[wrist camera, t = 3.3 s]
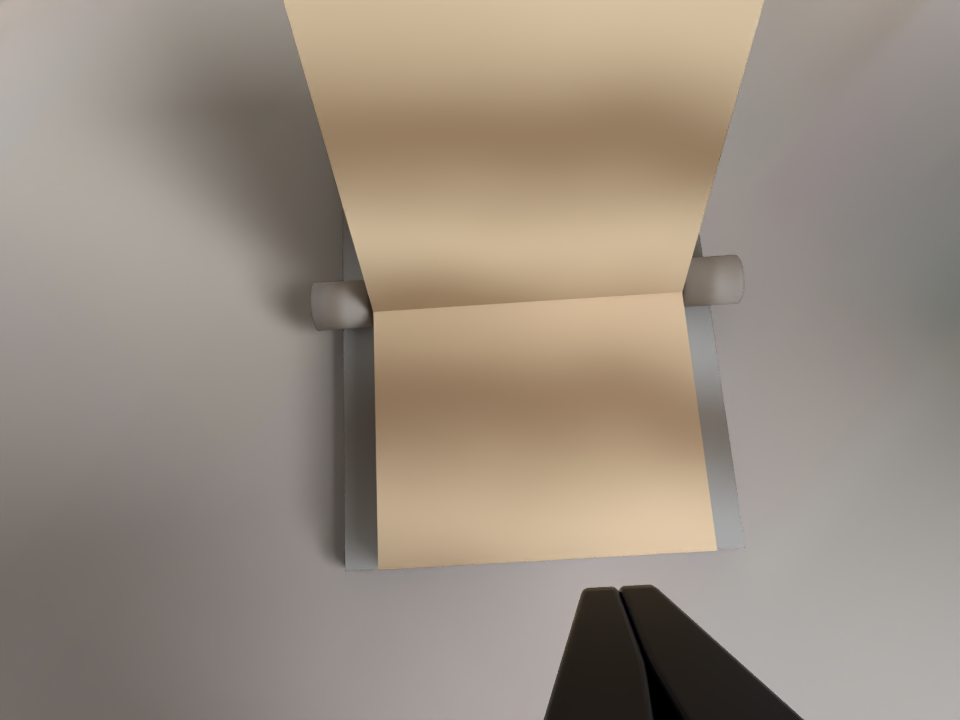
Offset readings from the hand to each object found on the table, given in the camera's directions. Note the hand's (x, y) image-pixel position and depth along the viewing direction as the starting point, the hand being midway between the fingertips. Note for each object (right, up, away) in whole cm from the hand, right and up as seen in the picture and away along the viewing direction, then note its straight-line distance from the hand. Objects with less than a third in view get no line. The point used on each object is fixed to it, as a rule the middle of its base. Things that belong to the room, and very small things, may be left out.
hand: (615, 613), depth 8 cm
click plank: (-1, +9, +8) cm, 12 cm away
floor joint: (0, +7, +15) cm, 16 cm away
